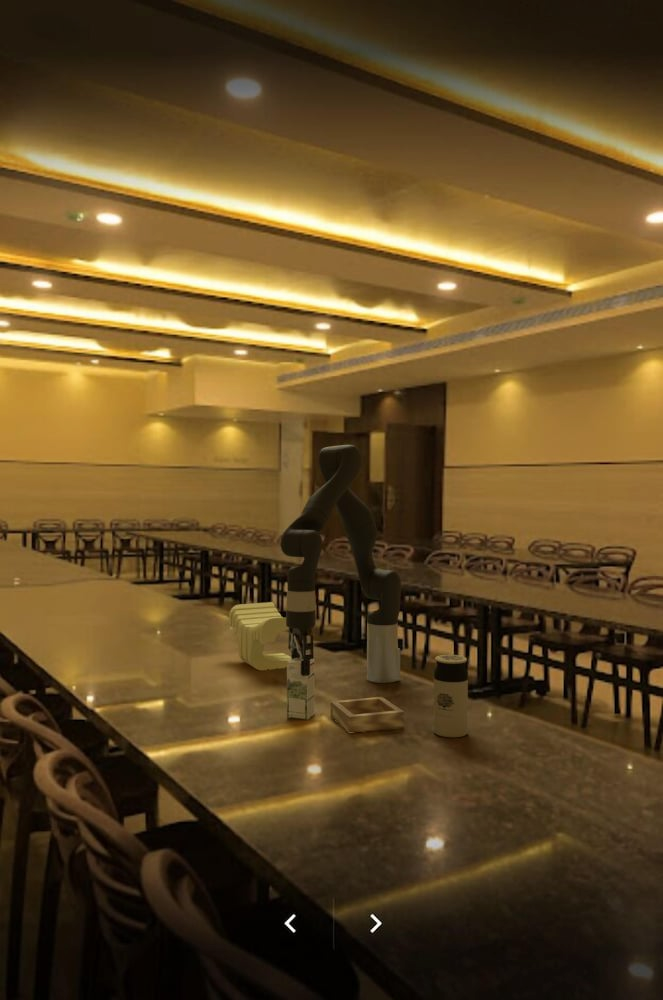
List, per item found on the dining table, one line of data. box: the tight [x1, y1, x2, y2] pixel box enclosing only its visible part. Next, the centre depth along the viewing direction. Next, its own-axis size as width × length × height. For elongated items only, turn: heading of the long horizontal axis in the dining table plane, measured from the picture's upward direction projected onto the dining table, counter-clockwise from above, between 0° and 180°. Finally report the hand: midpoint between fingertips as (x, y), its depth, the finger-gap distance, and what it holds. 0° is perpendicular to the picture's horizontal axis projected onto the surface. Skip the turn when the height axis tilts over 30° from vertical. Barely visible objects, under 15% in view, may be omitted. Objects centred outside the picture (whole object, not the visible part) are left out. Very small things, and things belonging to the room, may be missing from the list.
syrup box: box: [286, 658, 316, 721], centre depth 202 cm, size 6×6×14 cm
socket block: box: [330, 696, 405, 733], centre depth 198 cm, size 14×14×4 cm
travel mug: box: [433, 654, 469, 739], centre depth 189 cm, size 8×8×18 cm
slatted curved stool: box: [228, 601, 291, 671], centre depth 259 cm, size 30×16×18 cm, turn 26°
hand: (300, 671), depth 202 cm, fingers open, 8 cm apart
